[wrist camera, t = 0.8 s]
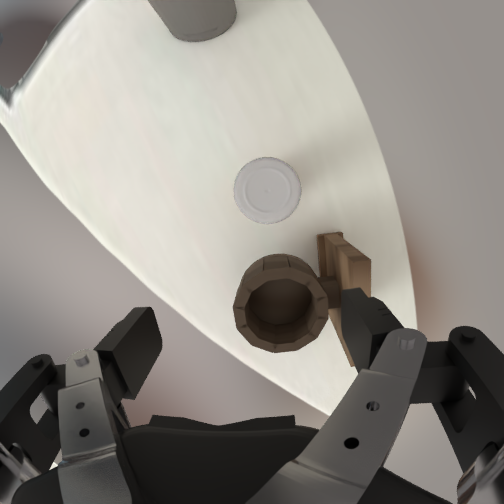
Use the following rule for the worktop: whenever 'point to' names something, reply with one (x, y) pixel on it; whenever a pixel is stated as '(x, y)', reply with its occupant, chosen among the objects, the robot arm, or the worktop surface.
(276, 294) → the bracket
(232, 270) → the worktop surface
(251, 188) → the sprinkles bottle
